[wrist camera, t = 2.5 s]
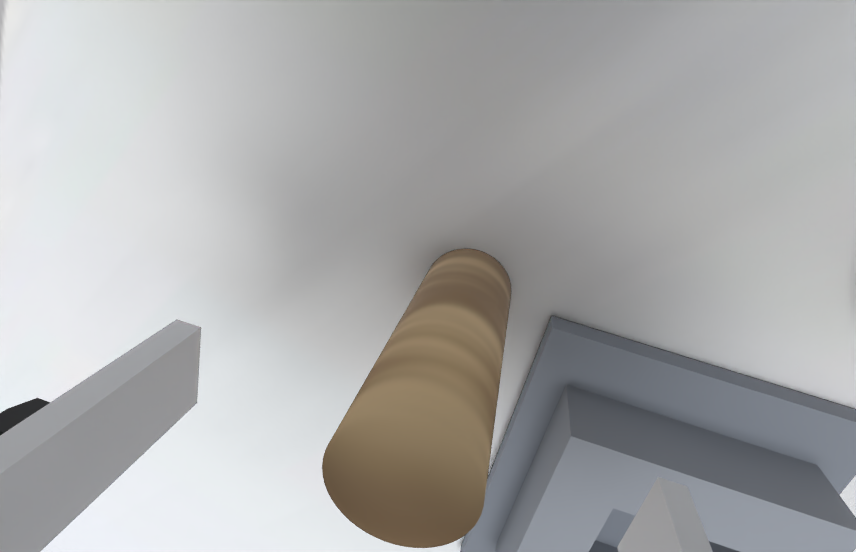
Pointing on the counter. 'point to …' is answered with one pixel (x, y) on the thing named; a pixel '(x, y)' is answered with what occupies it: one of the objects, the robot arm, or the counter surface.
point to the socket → (663, 453)
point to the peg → (427, 411)
